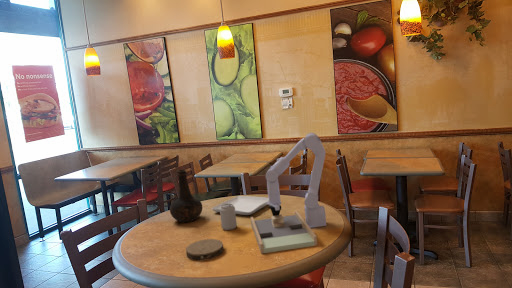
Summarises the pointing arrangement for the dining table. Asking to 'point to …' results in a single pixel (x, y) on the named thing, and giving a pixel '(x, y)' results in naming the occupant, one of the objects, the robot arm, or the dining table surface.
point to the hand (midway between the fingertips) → (276, 220)
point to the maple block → (277, 220)
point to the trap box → (283, 234)
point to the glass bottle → (185, 202)
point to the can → (228, 216)
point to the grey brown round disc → (204, 249)
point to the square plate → (245, 204)
